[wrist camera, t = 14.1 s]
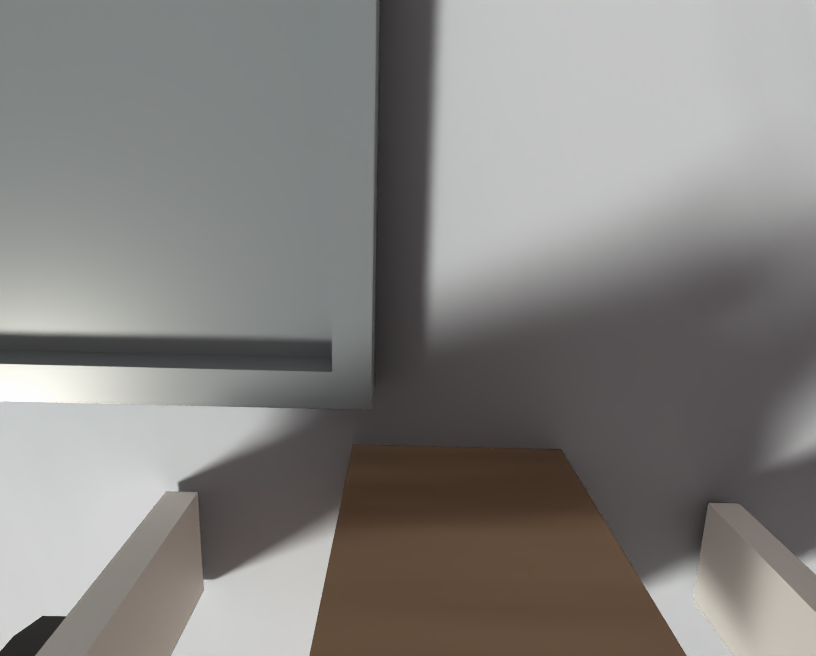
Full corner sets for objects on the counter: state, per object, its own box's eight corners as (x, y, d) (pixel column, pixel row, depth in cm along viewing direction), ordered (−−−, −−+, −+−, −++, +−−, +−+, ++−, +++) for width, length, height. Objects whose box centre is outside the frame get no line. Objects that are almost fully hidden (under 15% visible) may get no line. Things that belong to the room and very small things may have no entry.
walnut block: (352, 443, 14) (302, 690, 7) (560, 448, 14) (713, 698, 7) (351, 622, 15) (307, 984, 8) (543, 625, 15) (660, 988, 8)
